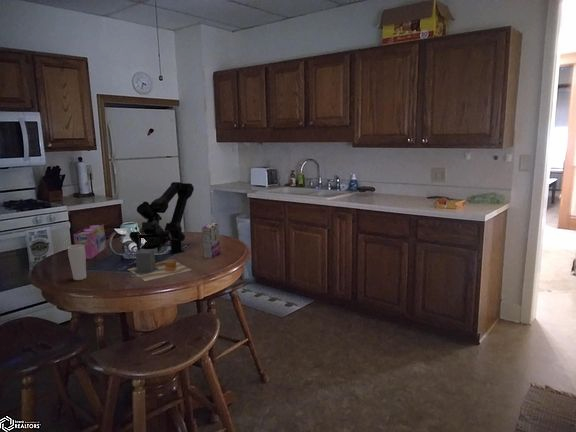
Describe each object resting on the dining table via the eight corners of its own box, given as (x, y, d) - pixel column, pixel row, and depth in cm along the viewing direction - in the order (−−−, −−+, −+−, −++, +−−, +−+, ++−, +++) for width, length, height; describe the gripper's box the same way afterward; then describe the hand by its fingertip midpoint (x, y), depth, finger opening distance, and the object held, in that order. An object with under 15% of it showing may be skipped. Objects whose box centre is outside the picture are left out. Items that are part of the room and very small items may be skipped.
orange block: (167, 268, 198) (167, 260, 197) (176, 268, 198) (175, 259, 197) (165, 271, 194) (165, 262, 193) (174, 270, 194) (173, 262, 194)
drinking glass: (75, 276, 191) (71, 244, 188) (90, 275, 192) (86, 243, 189) (69, 281, 185) (64, 248, 182) (85, 280, 185) (80, 247, 182)
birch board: (127, 270, 198) (127, 268, 198) (171, 260, 212) (171, 259, 212) (145, 282, 182) (145, 280, 182) (191, 270, 195) (191, 269, 195)
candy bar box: (211, 252, 224) (209, 222, 221) (220, 252, 223) (218, 222, 220) (203, 258, 214) (201, 227, 210) (212, 259, 213) (210, 227, 209)
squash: (129, 237, 239) (139, 219, 232) (150, 232, 252) (160, 215, 245) (142, 256, 235) (153, 238, 228) (163, 250, 248) (174, 233, 241)
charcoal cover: (141, 268, 199) (139, 249, 197) (155, 267, 199) (153, 249, 197) (136, 272, 193) (135, 253, 191) (151, 272, 193) (149, 253, 191)
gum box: (93, 247, 241) (90, 224, 238) (107, 246, 242) (105, 223, 239) (76, 259, 218) (72, 234, 215) (91, 259, 218) (88, 233, 215)
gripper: (128, 215, 201) (122, 244, 192) (167, 214, 201) (164, 242, 192) (135, 227, 210) (130, 255, 201) (173, 226, 210) (169, 254, 202)
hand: (148, 251), depth 199 cm, fingers open, 9 cm apart
